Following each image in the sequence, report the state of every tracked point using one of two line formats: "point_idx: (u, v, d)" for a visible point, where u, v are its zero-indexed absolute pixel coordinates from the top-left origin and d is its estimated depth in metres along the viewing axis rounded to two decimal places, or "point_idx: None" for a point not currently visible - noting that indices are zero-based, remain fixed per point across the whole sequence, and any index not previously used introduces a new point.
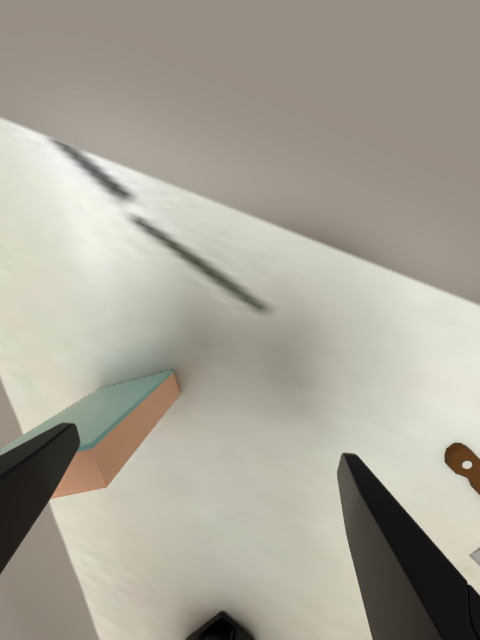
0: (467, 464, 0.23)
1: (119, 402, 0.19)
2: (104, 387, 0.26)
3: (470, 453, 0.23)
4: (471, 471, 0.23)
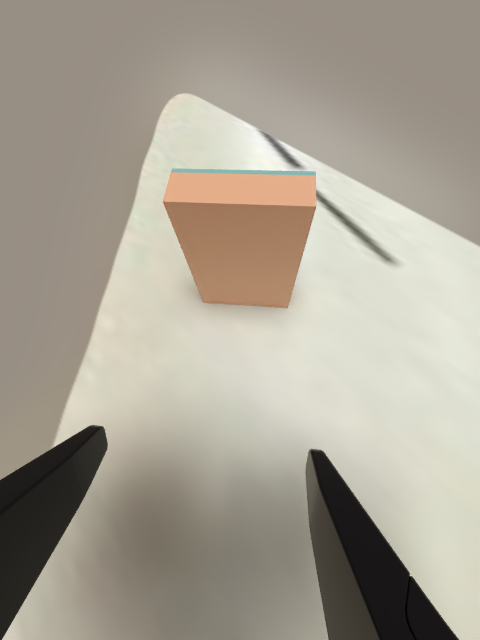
0: None
1: None
2: None
3: None
4: None
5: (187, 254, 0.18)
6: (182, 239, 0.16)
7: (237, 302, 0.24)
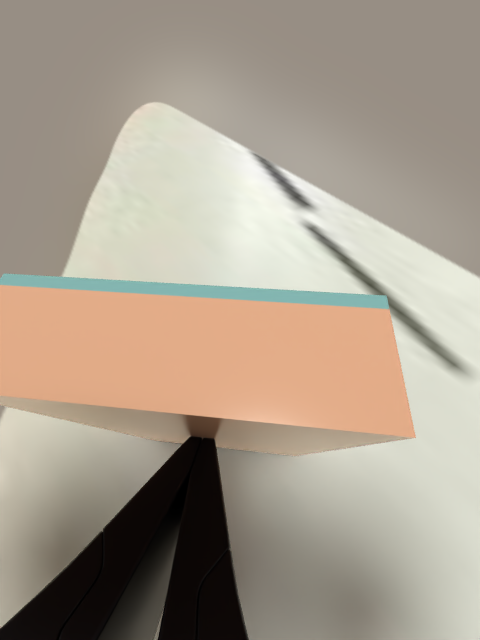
0: None
1: None
2: None
3: None
4: None
5: (87, 423, 0.08)
6: (56, 417, 0.07)
7: None
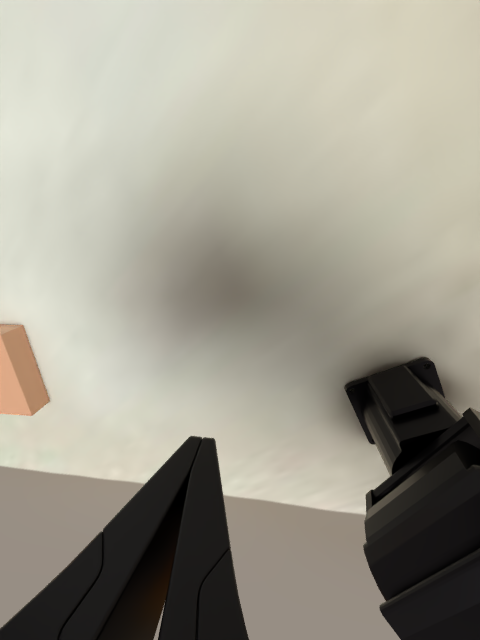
0: None
1: None
2: None
3: None
4: None
5: None
6: None
7: (15, 384, 0.22)
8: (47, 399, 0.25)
